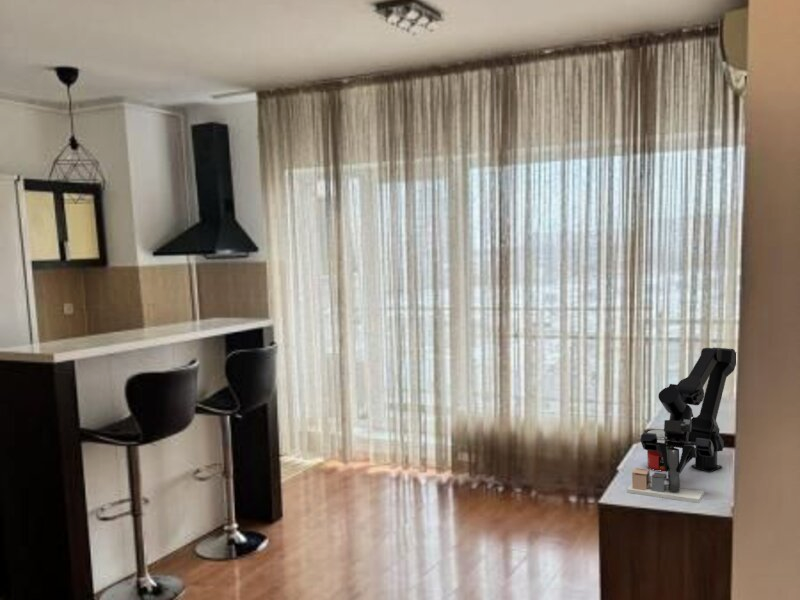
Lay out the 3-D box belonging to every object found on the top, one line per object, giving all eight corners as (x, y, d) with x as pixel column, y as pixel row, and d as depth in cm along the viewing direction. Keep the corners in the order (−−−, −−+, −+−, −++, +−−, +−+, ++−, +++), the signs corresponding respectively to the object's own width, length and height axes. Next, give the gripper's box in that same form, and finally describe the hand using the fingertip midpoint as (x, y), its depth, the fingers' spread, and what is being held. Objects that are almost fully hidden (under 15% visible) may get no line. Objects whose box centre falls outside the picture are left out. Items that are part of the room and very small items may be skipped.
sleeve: (666, 488, 198) (666, 473, 198) (664, 492, 196) (663, 477, 195) (654, 486, 200) (654, 472, 200) (652, 490, 197) (651, 476, 197)
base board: (703, 495, 195) (703, 491, 195) (699, 502, 189) (699, 499, 189) (633, 485, 205) (632, 481, 205) (627, 492, 200) (627, 489, 200)
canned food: (662, 473, 214) (661, 438, 213) (642, 466, 221) (641, 432, 220) (680, 468, 217) (679, 433, 216) (659, 462, 224) (658, 428, 223)
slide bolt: (680, 488, 196) (680, 448, 195) (678, 492, 194) (677, 451, 193) (640, 483, 202) (639, 444, 201) (637, 486, 200) (636, 447, 199)
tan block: (649, 485, 201) (649, 469, 201) (646, 490, 198) (646, 474, 197) (636, 483, 203) (635, 467, 203) (632, 488, 200) (632, 472, 199)
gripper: (641, 405, 202) (632, 453, 194) (711, 410, 192) (705, 461, 184) (648, 425, 209) (639, 472, 201) (716, 431, 200) (710, 481, 191)
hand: (672, 471), depth 194 cm, fingers closed on slide bolt, 3 cm apart
